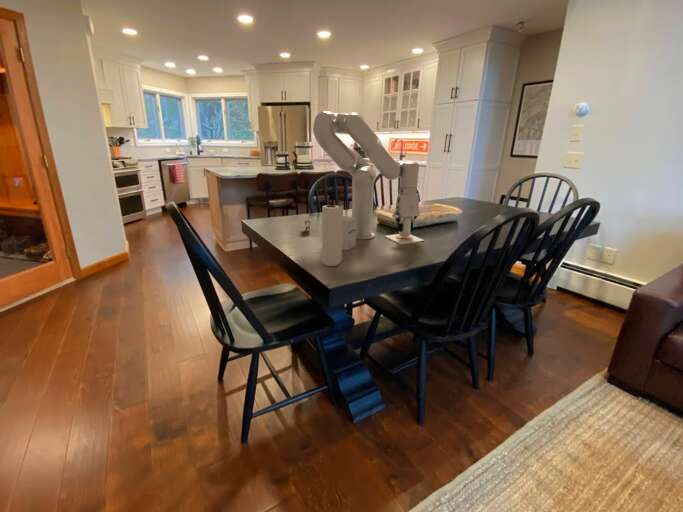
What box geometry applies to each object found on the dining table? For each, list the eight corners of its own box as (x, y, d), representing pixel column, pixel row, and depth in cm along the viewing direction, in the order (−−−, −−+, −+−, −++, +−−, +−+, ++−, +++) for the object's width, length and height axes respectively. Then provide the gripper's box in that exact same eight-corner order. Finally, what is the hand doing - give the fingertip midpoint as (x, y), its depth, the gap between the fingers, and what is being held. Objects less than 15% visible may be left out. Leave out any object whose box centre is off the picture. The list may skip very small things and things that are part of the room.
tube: (403, 237, 149) (404, 215, 146) (396, 234, 154) (398, 213, 150) (412, 236, 151) (414, 214, 148) (405, 233, 156) (407, 212, 152)
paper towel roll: (322, 266, 118) (322, 207, 111) (322, 260, 124) (322, 204, 117) (342, 266, 118) (343, 207, 111) (342, 260, 124) (343, 204, 117)
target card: (400, 244, 145) (400, 243, 145) (384, 237, 156) (384, 235, 156) (424, 241, 150) (424, 239, 150) (406, 234, 161) (406, 232, 161)
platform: (318, 227, 172) (318, 215, 169) (321, 237, 155) (321, 223, 153) (295, 228, 170) (295, 215, 168) (295, 238, 153) (295, 224, 151)
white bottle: (347, 251, 135) (348, 221, 131) (332, 247, 139) (332, 218, 135) (356, 246, 141) (357, 217, 137) (341, 243, 145) (342, 215, 141)
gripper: (397, 193, 139) (394, 234, 145) (428, 191, 146) (424, 230, 152) (387, 190, 145) (384, 230, 151) (418, 188, 152) (414, 227, 158)
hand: (404, 230), depth 152 cm, fingers closed on tube, 5 cm apart
